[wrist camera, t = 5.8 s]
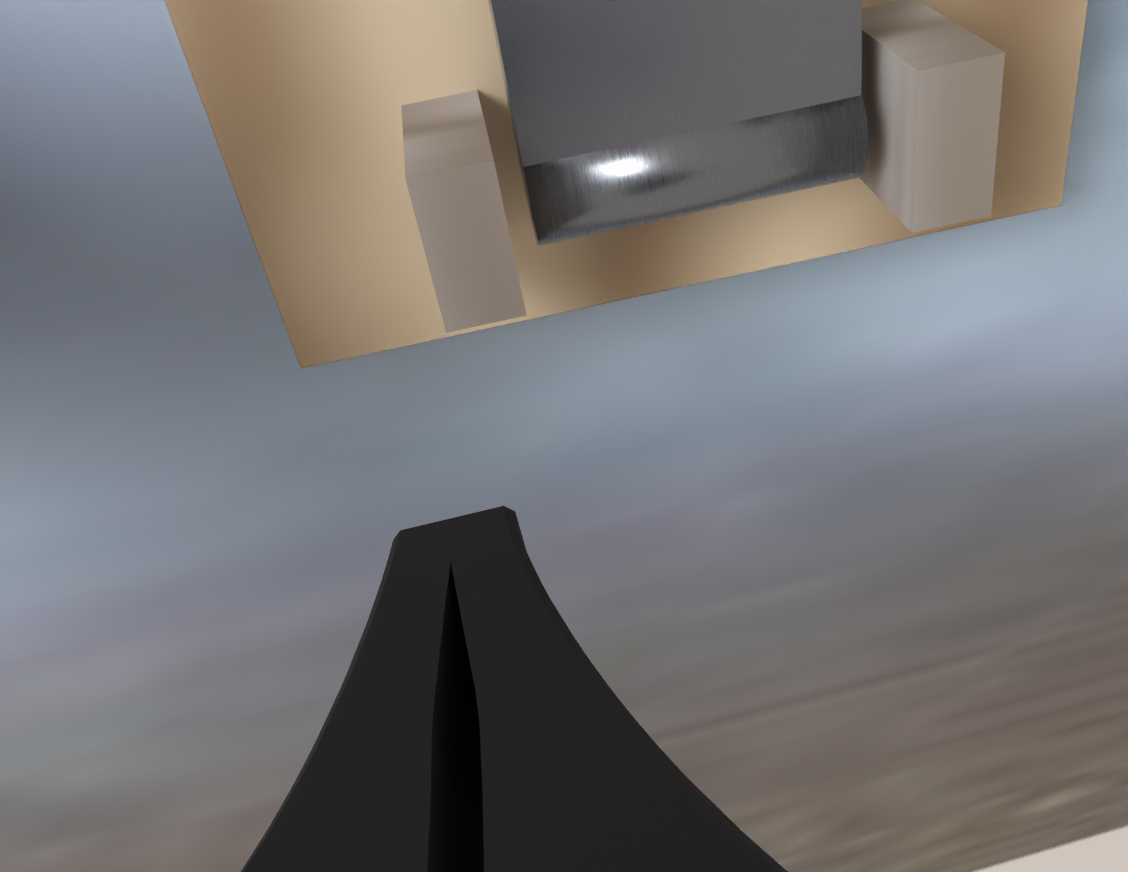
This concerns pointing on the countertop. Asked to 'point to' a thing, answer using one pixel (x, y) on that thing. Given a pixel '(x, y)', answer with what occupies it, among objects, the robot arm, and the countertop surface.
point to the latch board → (493, 177)
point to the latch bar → (677, 105)
